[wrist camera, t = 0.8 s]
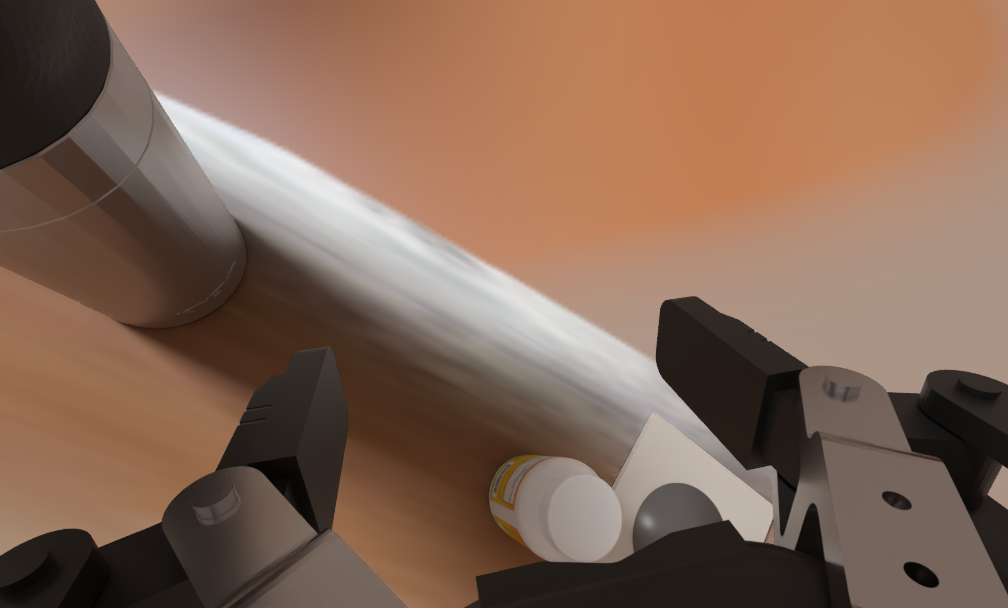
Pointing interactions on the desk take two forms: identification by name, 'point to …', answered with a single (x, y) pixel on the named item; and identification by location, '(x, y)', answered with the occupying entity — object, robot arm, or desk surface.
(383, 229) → the desk surface
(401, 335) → the desk surface
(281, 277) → the desk surface
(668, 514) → the plate
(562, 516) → the supplement bottle
